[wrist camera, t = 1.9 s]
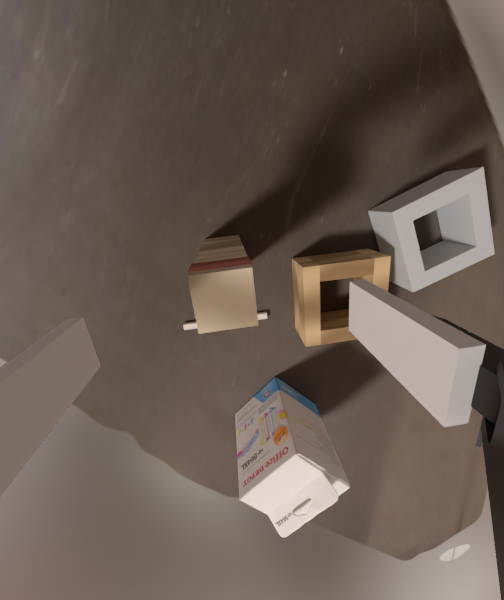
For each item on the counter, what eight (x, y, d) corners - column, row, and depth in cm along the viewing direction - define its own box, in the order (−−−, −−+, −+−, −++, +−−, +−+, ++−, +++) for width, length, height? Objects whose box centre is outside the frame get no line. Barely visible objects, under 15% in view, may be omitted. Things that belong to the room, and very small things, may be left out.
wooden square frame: (291, 258, 30) (302, 267, 26) (368, 248, 31) (391, 256, 26) (295, 328, 33) (305, 346, 29) (364, 318, 34) (384, 335, 30)
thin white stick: (183, 322, 32) (183, 324, 31) (266, 311, 32) (266, 313, 32) (185, 328, 32) (184, 330, 31) (266, 316, 32) (267, 318, 32)
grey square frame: (367, 210, 29) (391, 212, 25) (445, 171, 28) (483, 166, 24) (388, 280, 32) (413, 292, 28) (458, 246, 32) (494, 253, 27)
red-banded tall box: (204, 238, 28) (185, 274, 14) (239, 234, 29) (252, 266, 15) (210, 271, 30) (198, 334, 16) (243, 267, 30) (259, 325, 16)
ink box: (275, 374, 36) (303, 468, 23) (316, 404, 38) (361, 504, 26) (233, 414, 37) (238, 522, 25) (275, 440, 40) (298, 550, 27)
